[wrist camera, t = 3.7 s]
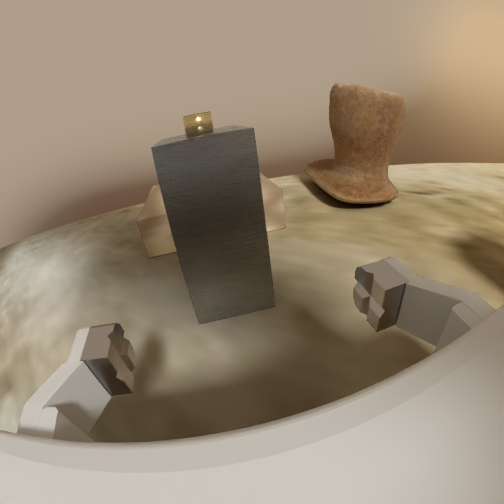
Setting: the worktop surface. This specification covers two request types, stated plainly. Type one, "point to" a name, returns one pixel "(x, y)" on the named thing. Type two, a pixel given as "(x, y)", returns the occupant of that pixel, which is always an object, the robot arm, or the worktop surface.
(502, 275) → the worktop surface
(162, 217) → the maple stand
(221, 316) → the block
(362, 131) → the brown piece
